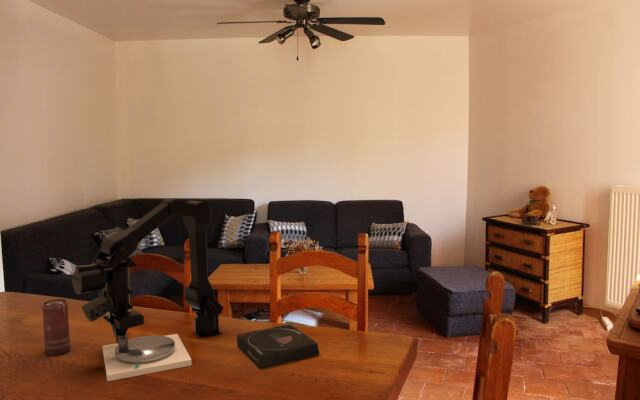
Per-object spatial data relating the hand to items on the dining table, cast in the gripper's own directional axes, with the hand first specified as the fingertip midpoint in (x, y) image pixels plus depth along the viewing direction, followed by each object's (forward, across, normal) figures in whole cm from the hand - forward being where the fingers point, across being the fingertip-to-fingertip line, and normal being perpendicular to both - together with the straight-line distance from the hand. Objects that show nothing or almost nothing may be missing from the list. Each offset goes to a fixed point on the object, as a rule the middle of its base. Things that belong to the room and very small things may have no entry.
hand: (119, 343), depth 135 cm
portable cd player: (+4, +24, +34) cm, 42 cm away
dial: (+3, +4, +4) cm, 6 cm away
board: (+4, +4, +5) cm, 8 cm away
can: (+5, -17, -10) cm, 20 cm away
